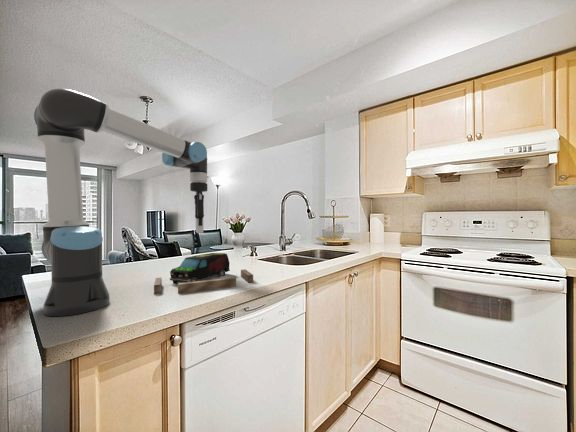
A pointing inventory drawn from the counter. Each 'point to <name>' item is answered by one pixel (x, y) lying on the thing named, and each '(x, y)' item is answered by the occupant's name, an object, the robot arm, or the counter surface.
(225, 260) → the toy van
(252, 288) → the counter surface
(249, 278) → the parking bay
